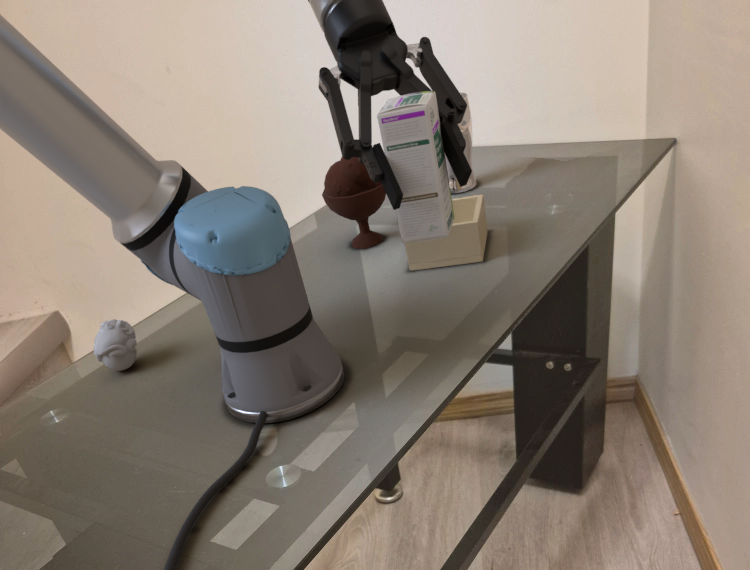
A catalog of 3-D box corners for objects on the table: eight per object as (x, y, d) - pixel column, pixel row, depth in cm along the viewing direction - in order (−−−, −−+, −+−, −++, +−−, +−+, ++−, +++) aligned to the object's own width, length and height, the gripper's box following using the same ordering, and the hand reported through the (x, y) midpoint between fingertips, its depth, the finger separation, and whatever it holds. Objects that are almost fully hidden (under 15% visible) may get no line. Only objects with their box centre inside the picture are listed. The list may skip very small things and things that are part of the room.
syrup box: (449, 238, 85) (430, 101, 76) (399, 244, 87) (375, 111, 78) (455, 219, 90) (437, 87, 80) (407, 225, 91) (385, 97, 82)
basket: (482, 261, 109) (477, 221, 105) (409, 271, 112) (402, 232, 108) (487, 232, 117) (483, 193, 113) (419, 241, 120) (412, 204, 116)
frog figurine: (155, 354, 109) (136, 311, 104) (129, 380, 104) (107, 336, 100) (123, 354, 111) (102, 312, 107) (96, 380, 106) (73, 337, 102)
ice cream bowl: (400, 224, 128) (382, 132, 119) (395, 249, 120) (376, 153, 110) (341, 234, 130) (319, 145, 121) (332, 260, 122) (308, 166, 112)
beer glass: (434, 190, 138) (421, 102, 128) (466, 177, 139) (455, 90, 130) (453, 197, 132) (440, 107, 123) (486, 184, 134) (476, 94, 124)
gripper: (427, 18, 90) (504, 181, 87) (269, 65, 86) (345, 237, 84) (439, -36, 82) (524, 141, 80) (267, 14, 79) (350, 200, 77)
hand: (432, 190), depth 82 cm, fingers closed on syrup box, 8 cm apart
